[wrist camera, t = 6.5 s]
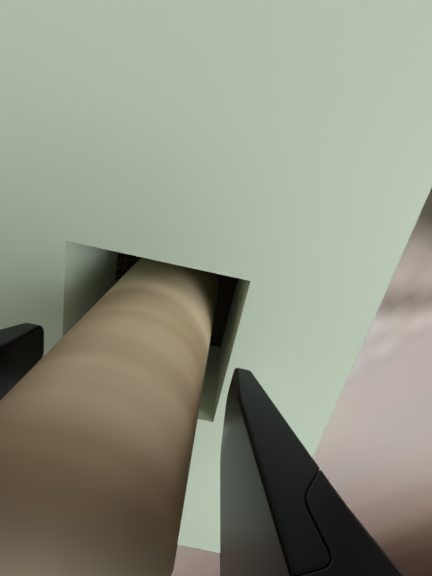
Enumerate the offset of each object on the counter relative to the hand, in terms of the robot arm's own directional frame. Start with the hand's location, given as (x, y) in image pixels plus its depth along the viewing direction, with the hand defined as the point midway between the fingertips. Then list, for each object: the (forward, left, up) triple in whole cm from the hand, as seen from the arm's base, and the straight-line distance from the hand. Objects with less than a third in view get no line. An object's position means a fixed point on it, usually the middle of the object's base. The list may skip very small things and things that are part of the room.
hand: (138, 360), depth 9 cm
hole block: (0, 0, -6) cm, 6 cm away
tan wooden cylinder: (0, 0, -6) cm, 6 cm away
